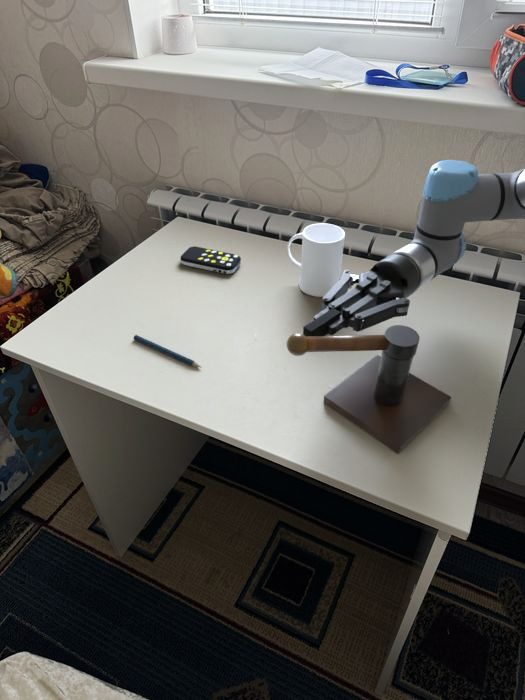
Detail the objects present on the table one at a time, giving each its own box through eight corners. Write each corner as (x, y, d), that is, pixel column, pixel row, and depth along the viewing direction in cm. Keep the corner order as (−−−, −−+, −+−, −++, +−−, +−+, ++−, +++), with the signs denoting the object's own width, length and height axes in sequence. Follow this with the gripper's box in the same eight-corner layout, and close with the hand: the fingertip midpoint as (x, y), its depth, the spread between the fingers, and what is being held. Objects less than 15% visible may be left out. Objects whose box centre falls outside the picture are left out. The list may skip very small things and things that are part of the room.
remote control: (191, 251, 115) (190, 243, 114) (243, 262, 112) (243, 254, 110) (178, 265, 111) (177, 256, 109) (231, 276, 107) (231, 268, 106)
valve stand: (449, 403, 80) (468, 350, 72) (398, 454, 72) (413, 400, 65) (376, 360, 87) (386, 309, 80) (323, 402, 80) (329, 349, 72)
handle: (410, 339, 74) (415, 322, 72) (419, 361, 71) (424, 344, 69) (285, 342, 74) (285, 325, 72) (287, 364, 70) (288, 347, 68)
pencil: (137, 337, 92) (203, 367, 86) (133, 340, 91) (200, 371, 85) (136, 334, 91) (203, 364, 85) (133, 336, 91) (199, 367, 85)
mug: (277, 284, 105) (278, 231, 97) (298, 265, 111) (300, 214, 103) (328, 302, 100) (333, 248, 92) (347, 282, 106) (353, 229, 98)
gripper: (430, 309, 84) (339, 378, 71) (366, 278, 91) (273, 336, 78) (440, 269, 79) (345, 337, 66) (372, 240, 86) (274, 296, 73)
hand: (306, 336), depth 72 cm, fingers closed
